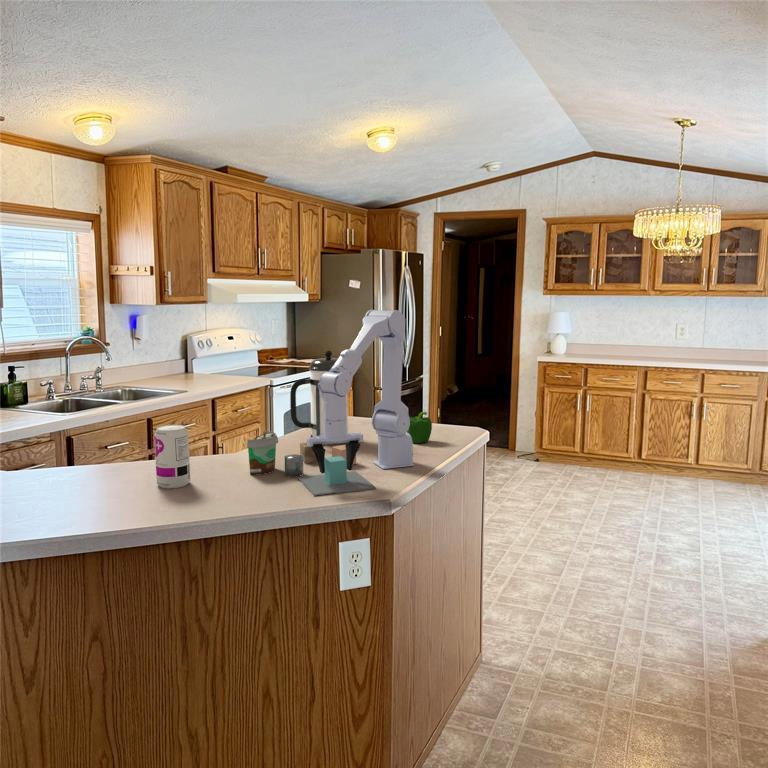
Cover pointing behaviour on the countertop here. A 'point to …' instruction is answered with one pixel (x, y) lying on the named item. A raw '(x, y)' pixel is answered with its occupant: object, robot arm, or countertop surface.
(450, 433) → the countertop surface
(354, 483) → the mat
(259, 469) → the food container
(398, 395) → the robot arm
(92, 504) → the countertop surface
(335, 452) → the terracotta block
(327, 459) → the teal block
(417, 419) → the bell pepper
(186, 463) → the supplement can
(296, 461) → the metal canister
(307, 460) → the walnut block
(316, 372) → the coffee press
